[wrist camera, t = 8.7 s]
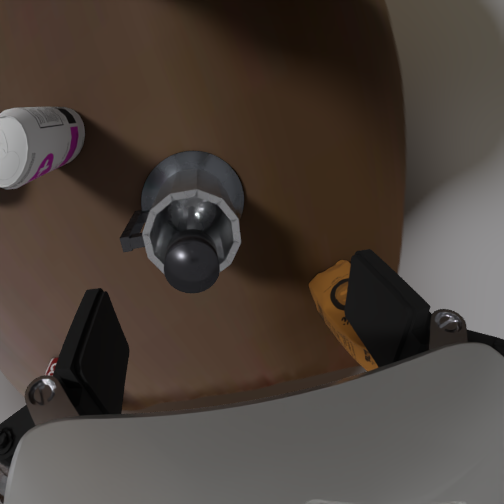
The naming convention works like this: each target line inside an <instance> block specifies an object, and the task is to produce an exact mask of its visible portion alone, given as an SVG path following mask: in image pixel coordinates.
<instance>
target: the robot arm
mask: <svg viewBox="0 0 504 504" xmlns="http://www.w3.org/2000/svg"><path fill="white" fill-rule="evenodd" d="M429 309H430V305H429V304H428V303H427V302H425V300H424V299H423V298H422V297H420V295H418V294H417V293H416V292H415V291H414V290H413V289H412V288H411V287H410V286H409V285H408V284H407V283H406V282H405V281H404V280H403V279H402V278H401V277H400V276H399V275H398V274H397V273H396V272H395V271H394V270H392V269H391V268H390V267H389V266H388V265H387V264H386V263H385V262H384V261H383V260H382V259H381V258H379V257H378V256H377V255H376V254H375V253H374V252H373V251H372V250H370V249H368V250H362V251H357V252H356V253H355V255H354V256H352V258H351V265H350V273H349V281H348V288H347V296H346V302H345V309H344V313H345V317H346V319H347V320H348V322H349V323H350V325H351V326H352V328H353V329H354V331H355V332H356V334H357V335H358V337H359V338H360V340H361V341H362V343H363V344H364V346H365V347H366V349H367V350H368V352H369V353H370V355H371V356H372V358H373V359H374V361H375V362H376V364H377V366H378V367H379V368H376V369H373V370H370V371H367V372H364V373H361V374H358V375H355V376H351V377H348V378H344V379H341V380H338V381H334V382H330V383H326V384H323V385H319V386H315V387H312V388H307V389H303V390H299V391H294V392H290V393H286V394H281V395H276V396H271V397H266V398H261V399H256V400H251V401H245V402H239V403H232V404H226V405H219V406H213V407H205V408H196V409H187V410H178V411H165V412H150V413H135V414H121V411H122V402H123V394H124V386H125V378H126V371H127V364H128V358H129V346H128V343H127V341H126V338H125V336H124V333H123V331H122V329H121V326H120V324H119V321H118V319H117V316H116V313H115V311H114V308H113V306H112V303H111V300H110V297H109V295H108V293H107V292H106V291H105V292H103V290H102V289H101V288H98V289H90V290H87V291H86V292H85V295H84V297H83V299H82V301H81V303H80V306H79V308H78V310H77V313H76V315H75V317H74V320H73V322H72V324H71V327H70V329H69V332H68V334H67V337H66V339H65V342H64V344H63V347H62V350H61V352H60V355H59V358H58V360H57V363H56V366H55V370H54V373H53V376H50V375H44V376H40V377H38V378H36V379H34V380H33V381H32V382H31V383H30V384H29V385H28V387H27V389H26V391H25V402H26V406H24V407H23V408H21V409H20V410H19V411H17V412H16V413H15V414H13V415H12V416H10V417H9V418H8V419H7V420H5V421H4V422H2V423H1V424H0V504H504V340H503V339H500V338H497V337H493V336H489V335H485V334H482V333H478V332H474V331H470V330H467V328H466V323H465V320H464V319H463V317H461V316H460V315H459V314H458V313H456V312H454V311H452V310H448V309H440V310H437V311H434V313H433V314H431V313H430V312H429Z"/></svg>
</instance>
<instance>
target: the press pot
mask: <svg viewBox="0 0 504 504" xmlns="http://www.w3.org/2000/svg"><path fill="white" fill-rule="evenodd" d="M192 197H198V198H201V199H203V200H206V201H209V202H212V203H214V204H216V215H215V218H214V220H213V222H212V223H211V224H210V225H209V226H208V227H207V228H206V229H204V230H202V231H203V232H205V233H207V234H208V235H209V236H210V237H211V238H212V239H213V241H214V242H215V245H216V248H217V254H218V260H219V265H220V272H221V271H222V270H223V269H225V268H226V267H228V266H229V265H230V264H231V263H232V261H233V259H234V257H235V255H236V252H237V250H238V248H239V246H240V244H241V237H240V228H239V220H240V218H241V215H242V212H243V206H244V194H243V188H242V185H241V182H240V180H239V178H238V176H237V175H236V173H235V172H234V170H233V169H232V168H231V167H230V166H229V165H228V164H227V163H226V162H225V161H224V160H222V159H220V158H219V157H217V156H215V155H213V154H210V153H207V152H202V151H185V152H180V153H177V154H174V155H172V156H170V157H168V158H166V159H164V160H163V161H162V162H160V163H159V164H158V165H157V166H156V167H155V168H154V169H153V171H152V172H151V173H150V175H149V176H148V178H147V180H146V182H145V184H144V187H143V191H142V197H141V206H142V210H138V211H135V212H134V214H133V216H132V217H131V219H130V221H129V223H128V224H127V226H126V228H125V230H124V231H123V233H122V235H121V237H120V241H121V245H122V248H123V252H128V251H132V250H133V249H135V248H141V247H145V248H146V252H147V256H148V258H149V259H150V260H151V261H152V262H153V263H154V264H155V265H156V266H157V267H158V268H159V269H160V270H161V271H162V272H163V273H164V261H165V256H166V250H167V246H168V243H169V241H170V240H171V238H172V237H173V236H174V235H175V234H177V233H178V232H180V231H182V230H180V229H178V228H177V227H176V226H175V225H174V224H173V223H172V221H171V220H170V217H169V213H168V207H169V204H170V203H171V202H172V201H174V200H180V199H186V198H192ZM144 222H146V224H145V227H144V230H143V233H140V231H141V229H142V227H143V224H144Z"/></svg>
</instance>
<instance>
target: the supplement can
mask: <svg viewBox="0 0 504 504" xmlns="http://www.w3.org/2000/svg"><path fill="white" fill-rule="evenodd" d="M84 138H85V129H84V123H83V121H82V119H81V117H80V115H79V114H77V113H76V112H75V111H74V110H73V109H70V108H66V107H25V108H12V109H8V110H4V111H3V112H2V113H0V187H1V188H4V189H6V190H8V189H17V188H19V187H21V186H23V185H24V184H26V183H28V182H30V181H32V180H34V179H36V178H38V177H40V176H42V175H44V174H46V173H48V172H50V171H52V170H55V169H57V168H59V167H61V166H63V165H65V164H67V163H69V162H71V161H73V159H74V158H75V157H76V156H77V155H78V154H79V152H80V150H81V148H82V146H83V144H84Z"/></svg>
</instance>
